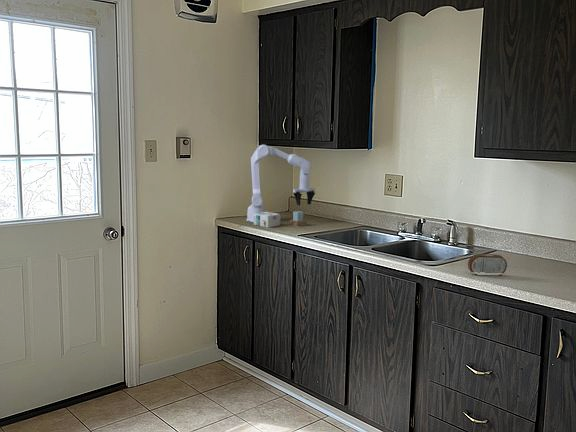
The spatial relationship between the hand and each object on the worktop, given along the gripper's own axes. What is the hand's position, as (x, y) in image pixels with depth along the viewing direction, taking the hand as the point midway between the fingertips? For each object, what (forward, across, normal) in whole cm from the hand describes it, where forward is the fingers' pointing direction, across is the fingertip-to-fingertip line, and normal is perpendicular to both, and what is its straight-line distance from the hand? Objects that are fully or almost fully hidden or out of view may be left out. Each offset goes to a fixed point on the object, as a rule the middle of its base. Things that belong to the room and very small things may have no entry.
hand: (303, 204), depth 347 cm
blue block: (+8, -8, -6) cm, 13 cm away
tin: (+11, -8, -132) cm, 133 cm away
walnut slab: (+11, -8, -6) cm, 15 cm away
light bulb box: (+7, -23, -5) cm, 25 cm away
